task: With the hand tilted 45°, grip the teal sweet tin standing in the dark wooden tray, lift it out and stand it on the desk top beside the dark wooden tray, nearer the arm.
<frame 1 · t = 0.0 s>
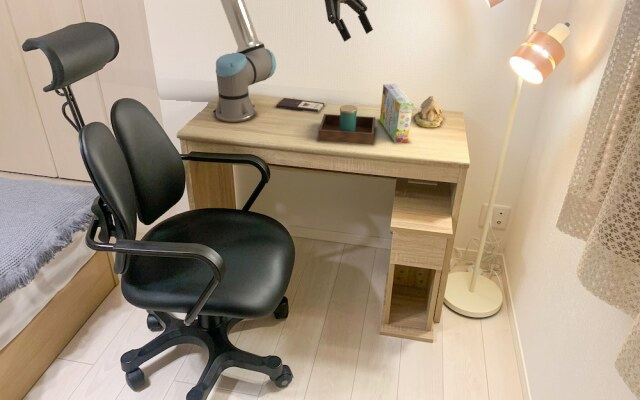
hand: (359, 35, 159), 36 cm above the table, tool tilted 35°, fingers open, 13 cm apart
snack box: (393, 131, 182), on the table
chocolate bar: (300, 106, 201), on the table
ceramic model: (428, 121, 190), on the table
sweet tin: (347, 133, 178), resting on dark wooden tray
dark wooden tray: (347, 134, 178), on the table
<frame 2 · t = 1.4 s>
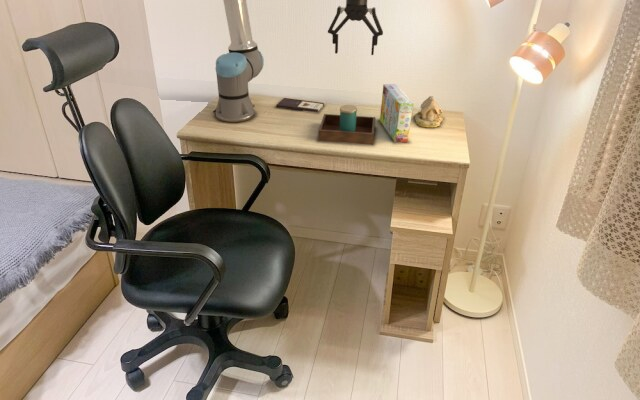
hand: (354, 53, 180), 25 cm above the table, tool pointing down, fingers open, 13 cm apart
nothing on the table moved.
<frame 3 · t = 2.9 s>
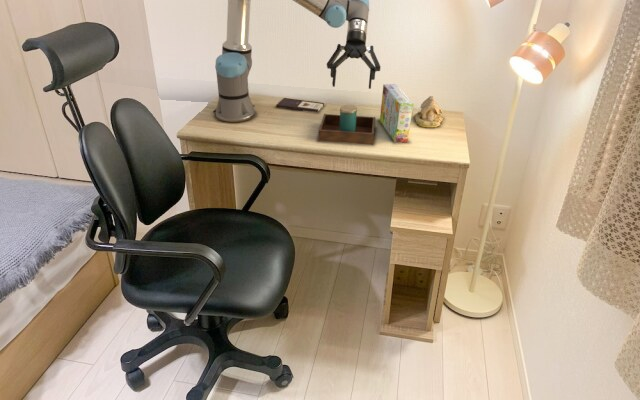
hand: (351, 86, 179), 15 cm above the table, tool tilted 45°, fingers open, 13 cm apart
nothing on the table moved.
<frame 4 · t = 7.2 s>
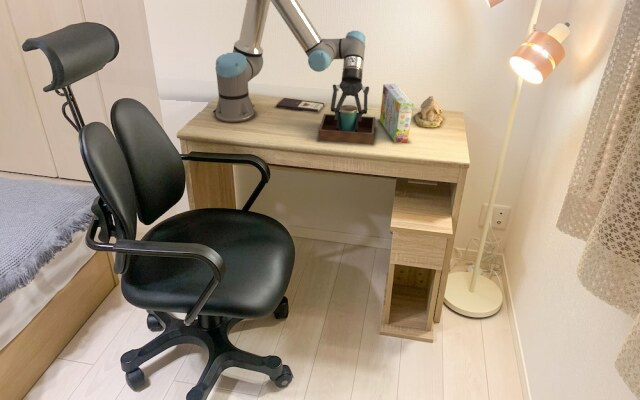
hand: (346, 130, 173), 3 cm above the table, tool tilted 45°, fingers closed on sweet tin, 6 cm apart
sweet tin: (347, 133, 178), resting on dark wooden tray, touching gripper
everything else where it was.
when the fingers open (3 cm above the table, at t = 18.1 s): sweet tin stays where it is, on the table.
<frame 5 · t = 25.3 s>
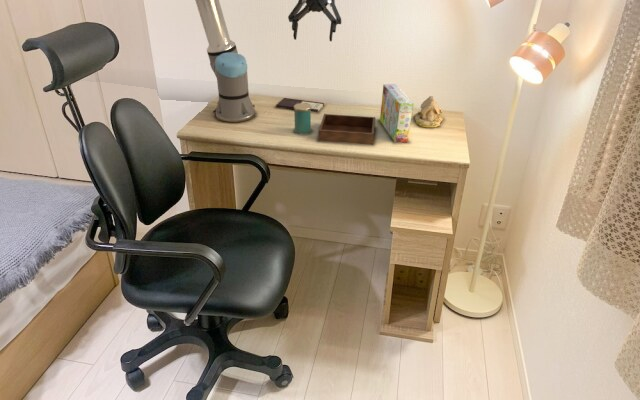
hand: (312, 38, 180), 30 cm above the table, tool tilted 45°, fingers open, 13 cm apart
sweet tin: (302, 131, 180), on the table
everything else where it was.
at the end: sweet tin inside the target area (0.2 cm from its centre), on the table; sweet tin tilted 0°; the gripper is holding nothing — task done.
